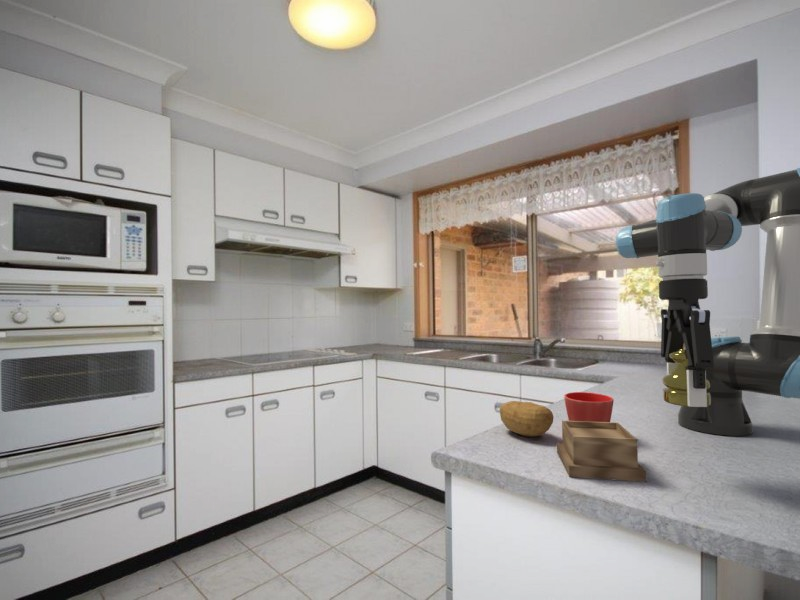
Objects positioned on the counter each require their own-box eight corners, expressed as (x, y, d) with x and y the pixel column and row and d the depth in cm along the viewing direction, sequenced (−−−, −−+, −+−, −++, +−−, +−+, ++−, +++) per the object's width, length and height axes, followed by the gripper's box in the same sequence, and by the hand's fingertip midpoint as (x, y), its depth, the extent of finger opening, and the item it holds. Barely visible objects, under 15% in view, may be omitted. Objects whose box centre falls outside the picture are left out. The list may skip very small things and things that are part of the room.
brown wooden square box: (622, 455, 86) (621, 421, 86) (646, 481, 74) (645, 441, 74) (556, 452, 89) (556, 418, 89) (569, 476, 76) (568, 437, 76)
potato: (514, 425, 110) (514, 395, 110) (562, 438, 98) (561, 404, 99) (489, 431, 104) (489, 400, 104) (537, 446, 93) (536, 411, 93)
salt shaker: (718, 403, 76) (716, 349, 76) (700, 410, 72) (698, 352, 72) (674, 396, 82) (672, 346, 82) (655, 402, 78) (653, 349, 78)
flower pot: (621, 445, 93) (620, 402, 93) (569, 442, 95) (568, 400, 95) (607, 431, 103) (606, 392, 103) (561, 429, 105) (560, 391, 106)
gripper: (639, 281, 88) (643, 389, 87) (686, 275, 68) (690, 414, 67) (679, 280, 86) (682, 389, 86) (738, 274, 66) (742, 416, 66)
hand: (686, 400), depth 77 cm, fingers closed on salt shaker, 7 cm apart
